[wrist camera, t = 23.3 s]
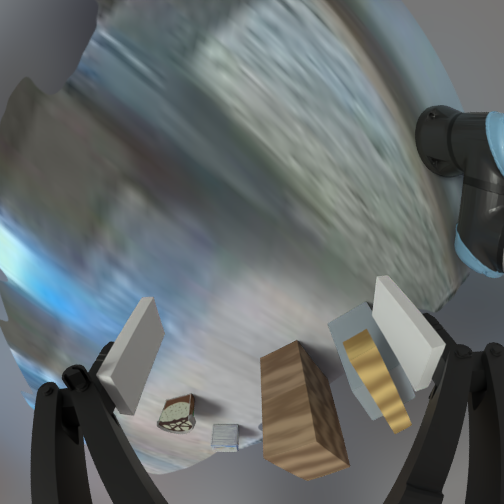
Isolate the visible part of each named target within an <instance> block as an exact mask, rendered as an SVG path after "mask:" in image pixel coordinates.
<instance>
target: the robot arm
mask: <svg viewBox="0 0 504 504" xmlns="http://www.w3.org/2000/svg"><path fill="white" fill-rule="evenodd" d="M415 139H416V146H417V150H418V153H419V155H420V157H421V159H422V161H423V163H424V164H425V165H426V166H427V167H428V168H429V169H430V170H431V171H432V172H434V173H436V174H438V175H442V176H447V177H452V176H456V175H460V174H463V173H464V179H463V189H462V197H461V205H460V212H459V219H458V223H457V225H456V237H455V250H456V253H457V255H458V257H459V258H460V259H461V260H462V262H464V263H465V264H466V265H467V266H468V267H470V268H471V269H472V270H474V271H476V272H477V273H480V274H482V273H483V274H484V275H485V276H487V277H491V278H499V277H501V276H503V274H504V113H499V112H495V111H494V112H470V113H462V112H460V111H458V110H456V109H453V108H451V107H448V106H444V105H438V106H432V107H429V108H427V109H426V110H425V111H424V112H423V113H422V114H421V115H420V117H419V119H418V122H417V125H416V132H415ZM372 316H373V318H374V320H375V321H376V323H377V325H378V326H379V328H380V330H381V331H382V333H383V335H384V336H385V338H386V340H387V342H388V343H389V345H390V347H391V348H392V350H393V352H394V354H395V355H396V357H397V359H398V361H399V363H400V364H401V366H402V368H403V370H404V372H405V373H406V375H407V377H408V379H409V381H410V383H411V384H412V386H413V388H414V390H415V391H418V390H421V389H424V388H427V387H428V386H429V384H430V382H431V380H432V379H433V381H434V383H435V386H434V388H433V390H432V392H431V394H430V396H429V399H430V400H429V404H428V406H427V409H426V412H425V415H424V418H423V421H422V423H421V426H420V429H419V431H418V434H417V436H416V439H415V441H414V444H413V446H412V448H411V451H410V453H409V455H408V458H407V459H406V462H405V464H404V466H403V468H402V470H401V472H400V474H399V476H398V478H397V480H396V482H395V484H394V486H393V487H392V489H391V491H390V493H389V494H388V496H387V498H386V500H385V501H384V503H383V504H442V501H443V497H444V495H443V494H442V489H443V486H444V484H445V481H446V478H447V476H448V473H449V470H450V467H451V464H452V461H453V458H454V455H455V451H456V448H457V445H458V441H459V437H460V433H461V429H462V425H463V421H464V416H465V412H466V407H467V402H468V412H469V445H470V446H469V469H468V483H467V491H466V499H465V504H504V347H503V346H502V345H500V344H498V343H494V342H493V343H489V344H487V346H486V348H485V350H484V351H482V352H481V351H480V352H472V350H471V349H470V348H469V347H467V346H465V345H461V344H456V343H455V341H454V340H453V339H452V338H451V337H450V335H449V334H448V333H447V332H446V331H445V329H443V327H442V326H441V325H440V324H439V322H438V321H437V320H436V319H435V317H433V316H431V315H430V314H428V313H424V314H421V313H420V311H419V310H418V309H417V308H416V307H415V305H414V304H413V303H412V302H411V301H410V300H409V298H408V297H407V296H406V295H405V294H404V293H403V292H402V290H401V289H400V288H399V287H398V286H397V285H396V284H395V282H394V281H393V280H392V279H391V278H390V277H389V276H388V275H386V276H378V277H377V279H376V288H375V296H374V304H373V311H372ZM164 335H165V332H164V329H163V326H162V323H161V320H160V317H159V314H158V310H157V307H156V304H155V300H154V297H142V298H141V300H140V302H139V303H138V305H137V306H136V308H135V309H134V311H133V313H132V314H131V316H130V318H129V319H128V321H127V322H126V324H125V326H124V327H123V329H122V331H121V332H120V334H119V336H118V337H117V339H116V341H115V342H109V343H108V344H107V345H105V346H104V347H103V349H102V350H101V352H100V354H99V355H98V357H97V359H96V361H95V362H94V364H93V365H92V367H91V369H90V371H89V372H87V370H86V369H85V367H84V366H82V365H73V366H70V367H69V368H67V369H66V370H65V371H64V372H63V374H62V380H63V382H64V383H65V385H66V386H67V388H64V389H59V387H58V386H57V385H56V383H54V382H47V383H44V384H43V385H42V386H41V387H40V388H39V389H38V392H37V396H36V403H35V411H34V419H33V430H32V443H31V495H32V496H31V497H32V504H92V499H91V494H90V488H89V483H88V476H87V468H86V460H85V452H84V439H83V435H84V438H85V441H86V444H87V446H88V449H89V451H90V454H91V456H92V459H93V461H94V464H95V466H96V468H97V471H98V473H99V475H100V477H101V480H102V482H103V483H104V486H105V488H106V490H107V492H108V494H109V496H110V498H111V500H112V502H113V504H168V502H167V501H166V500H165V498H164V497H163V496H162V494H161V493H160V492H159V490H158V488H157V487H156V486H155V484H154V483H153V481H152V480H151V478H150V477H149V475H148V473H147V472H146V470H145V469H144V467H143V465H142V464H141V462H140V460H139V459H138V457H137V455H136V454H135V452H134V450H133V448H132V447H131V445H130V443H129V441H128V439H127V437H126V436H125V434H124V432H123V430H122V428H121V426H120V424H119V422H118V420H117V418H116V416H115V414H114V413H113V411H114V409H115V407H116V408H117V409H118V411H119V412H120V414H126V415H133V416H134V414H135V411H136V408H137V406H138V403H139V400H140V397H141V395H142V392H143V389H144V386H145V384H146V381H147V378H148V376H149V373H150V371H151V368H152V365H153V363H154V360H155V358H156V355H157V352H158V350H159V347H160V345H161V342H162V340H163V337H164Z"/></svg>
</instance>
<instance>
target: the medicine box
mask: <svg viewBox="0 0 504 504" xmlns="http://www.w3.org/2000/svg"><path fill="white" fill-rule="evenodd" d="M238 445H239V430H238V425H237V424H235V425H213V430H212V438H211V447H212V449H213V451H221V452H237V451H238Z"/></svg>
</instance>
